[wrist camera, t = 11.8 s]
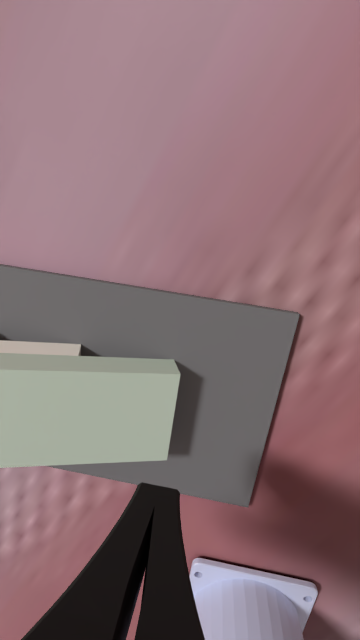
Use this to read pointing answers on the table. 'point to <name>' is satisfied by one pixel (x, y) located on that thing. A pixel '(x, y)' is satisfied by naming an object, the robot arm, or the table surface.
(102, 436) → the domino
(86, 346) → the charcoal mat
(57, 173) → the table surface
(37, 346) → the domino
